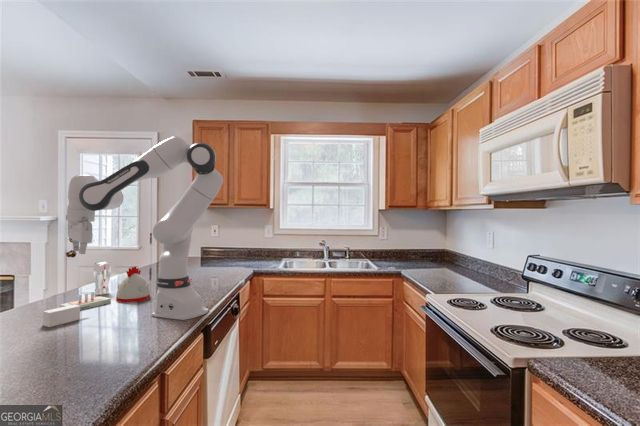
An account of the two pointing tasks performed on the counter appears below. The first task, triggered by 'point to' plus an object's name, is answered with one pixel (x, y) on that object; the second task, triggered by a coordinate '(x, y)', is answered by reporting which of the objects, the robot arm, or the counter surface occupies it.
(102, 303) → the green peg board
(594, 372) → the counter surface
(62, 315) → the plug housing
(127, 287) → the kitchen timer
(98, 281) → the beer glass
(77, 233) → the robot arm
